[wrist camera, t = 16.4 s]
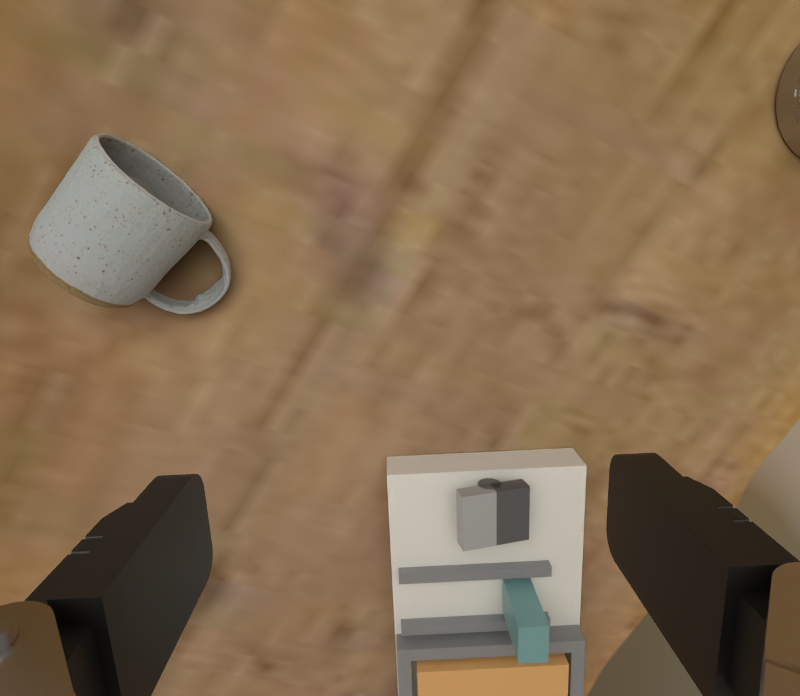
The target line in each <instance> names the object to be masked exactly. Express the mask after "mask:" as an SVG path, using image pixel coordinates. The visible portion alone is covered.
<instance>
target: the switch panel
mask: <svg viewBox="0 0 800 696" xmlns="http://www.w3.org/2000/svg"><path fill="white" fill-rule="evenodd" d="M586 467H587V465H586V464H585V463H584V462H583V460H582V459H581V458H580V457H579V455H578V454H577V453H576V452H575V450H574V449H573V448H557V449H536V450H515V451H494V452H474V453H453V454H432V455H411V456H390V457H387V488H388V507H389V527H390V546H391V566H392V585H393V604H394V624H395V643H396V662H397V682H398V696H418V695H417V670H416V661H425V660H444V659H463V658H482V657H501V656H516V655H515V652H514V648H513V645H512V641H511V638H510V635H509V631H508V628H507V624H506V621H505V617H504V614H503V610H502V588H503V579H515V578H531V581H532V583H533V586H534V588H535V591H536V594H537V596H538V599H539V601H540V604H541V606H542V609H543V611H544V614H545V616H546V619H547V621H548V624H549V654H558V653H564V654H565V656H566V659H567V661H568V664H569V676H568V696H583V690H584V669H585V648H586V640H585V638H584V636H583V633H582V631H581V629H580V605H581V582H582V559H583V536H584V513H585V490H586ZM485 478H492V479H496V480H499V481H500V482H504V481H510V480H517V479H523V480H524V481H525V482H526V483H527V484H528V485H529V486H530V513H529V540H524V541H518V542H513V543H507V544H502V545H496V546H491V547H485V548H480V549H475V550H469V551H464V552H463V551H462V549H461V547H460V546H459V544H458V542H457V507H456V489H459V488H466V487H472V486H478V481H480V480H481V479H485Z"/></svg>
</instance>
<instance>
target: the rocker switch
mask: <svg viewBox="0 0 800 696" xmlns="http://www.w3.org/2000/svg"><path fill="white" fill-rule="evenodd" d="M456 507H457V542H458V544H459V546H460V547H461V549H462V551H463V552H464V551H469V550H475V549H480V548H485V547H491V546H496V545H502V544H507V543H513V542H518V541H524V540H529V513H530V486H529V485H528V484H527V483H526V482H525V481H524V480H523V479H517V480H510V481H504V482H500V481H499V480H496V479H492V478H485V479H481V480H480V481H478V486H472V487H466V488H459V489H456Z"/></svg>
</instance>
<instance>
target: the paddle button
mask: <svg viewBox="0 0 800 696" xmlns="http://www.w3.org/2000/svg"><path fill="white" fill-rule="evenodd" d="M416 670H417V695H418V696H568V676H569V664H568V661H567V659H566V656H565V654H564V653H558V654H549V656H548V662H543V663H525V664H518V662H517V659H516V656H501V657H482V658H463V659H444V660H425V661H416Z"/></svg>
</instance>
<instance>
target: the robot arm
mask: <svg viewBox="0 0 800 696" xmlns="http://www.w3.org/2000/svg"><path fill="white" fill-rule="evenodd" d="M776 115H777V120H778V126H779V129H780V131H781V134H782V136H783V138H784V140H785V142H786V143H787V144H788V146H789V147H790V148H791V150H792V151H793V152H794V153H795V154H796V155H798V156H799V157H800V45H799V47H798V48H797V49H796V50H795V51H794V53H793V55H792V56H791V58H790V59H789V61H788V63H787V64H786V66H785V69H784V71H783V74H782V76H781V79H780V81H779V86H778V91H777V96H776ZM607 539H608V544H609V548H610V552H611V554H612V557H613V559H614V561H615V563H616V564H617V566H618V567H619V569H620V570H621V572H622V573H623V575H624V576H625V578H626V579H627V581H628V582H629V584H630V585H631V587H632V588H633V590H634V591H635V593H636V595H637V596H638V598H639V599H640V601H641V602H642V604H643V605H644V607H645V608H646V610H647V611H648V613H649V614H650V616H651V617H652V619H653V620H654V622H655V623H656V625H657V626H658V628H659V629H660V631H661V632H662V634H663V635H664V637H665V639H666V640H667V642H668V643H669V645H670V646H671V648H672V649H673V651H674V652H675V654H676V655H677V657H678V658H679V660H680V661H681V663H682V664H683V666H684V667H685V669H686V670H687V672H688V674H689V675H690V677H691V678H692V680H693V681H694V683H695V684H696V686H697V687H698V689H699V690H700V692H701V693H702V695H703V696H800V561H799V560H797V559H796V558H795V557H794V556H792V555H791V554H790V553H789V552H788V551H786V549H784V548H783V547H782V546H781V545H780V544H778V543H777V542H776V541H775V540H774V539H772V538H771V537H770V536H769V535H768V534H766V533H765V532H764V531H763V530H762V529H761V528H759V527H758V526H757V525H756V524H754V523H753V522H749V518H747V517H746V516H745V515H744V514H743V513H741V512H740V511H739V510H738V509H737V508H733V505H732V504H731V503H729V502H728V501H727V500H726V499H725V498H724V497H722V496H721V495H720V494H719V493H718V492H716V491H715V490H714V489H712V488H710V487H708V486H706V485H704V484H702V483H700V482H697V481H695V480H693V479H691V478H689V477H683V476H682V475H681V474H679V473H678V472H677V471H676V470H675V469H674V468H673V467H671V466H670V465H669V464H668V463H667V462H666V461H665V460H664V459H662V458H661V457H660V456H659V455H658V454H656V453H639V454H618V455H614V456H613V458H612V460H611V463H610V471H609V490H608V508H607ZM211 566H212V541H211V534H210V526H209V519H208V512H207V505H206V498H205V491H204V485H203V481H202V479H201V477H200V476H199V475H198V474H186V475H165V476H157V477H156V478H154V479H153V481H152V482H151V483H150V484H149V485H148V486H147V487H146V488H145V490H144V491H143V492H142V493H141V494H140V495H139V496H138V497H137V499H136V500H135V501H134V502H133V503H126V504H125V505H123V506H121V507H120V508H118V509H117V510H115V511H113V512H112V513H110V514H108V515H107V516H105V517H104V518H102V519H101V520H100V521H99V522H98V523H97V524H96V525H95V527H94V528H93V529H92V530H91V531H90V532H89V533H88V534H87V535H86V538H85V539H83V540H81V541H80V542H79V544H78V545H77V546H76V547H75V548H74V549H73V550H72V553H71V555H67V556H66V557H65V558H64V559H63V561H62V562H61V563H60V564H59V565H58V566H57V567H56V568H55V569H54V570H53V571H52V572H51V573H50V574H49V575H48V576H47V577H46V579H45V580H44V581H43V582H42V583H41V584H40V585H39V586H38V587H37V588H36V589H35V590H34V591H33V592H32V593H31V594H30V596H29V597H28V598H27V599H26V600H25V601H22V602H15V603H9V604H5V605H2V606H0V696H151V695H152V693H153V690H154V688H155V686H156V684H157V682H158V680H159V678H160V676H161V674H162V672H163V670H164V668H165V666H166V664H167V662H168V660H169V658H170V656H171V654H172V652H173V650H174V648H175V646H176V644H177V642H178V640H179V638H180V636H181V634H182V632H183V630H184V628H185V626H186V624H187V621H188V619H189V617H190V615H191V613H192V611H193V609H194V607H195V605H196V603H197V601H198V599H199V597H200V595H201V593H202V591H203V589H204V587H205V585H206V583H207V581H208V578H209V575H210V571H211Z"/></svg>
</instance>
